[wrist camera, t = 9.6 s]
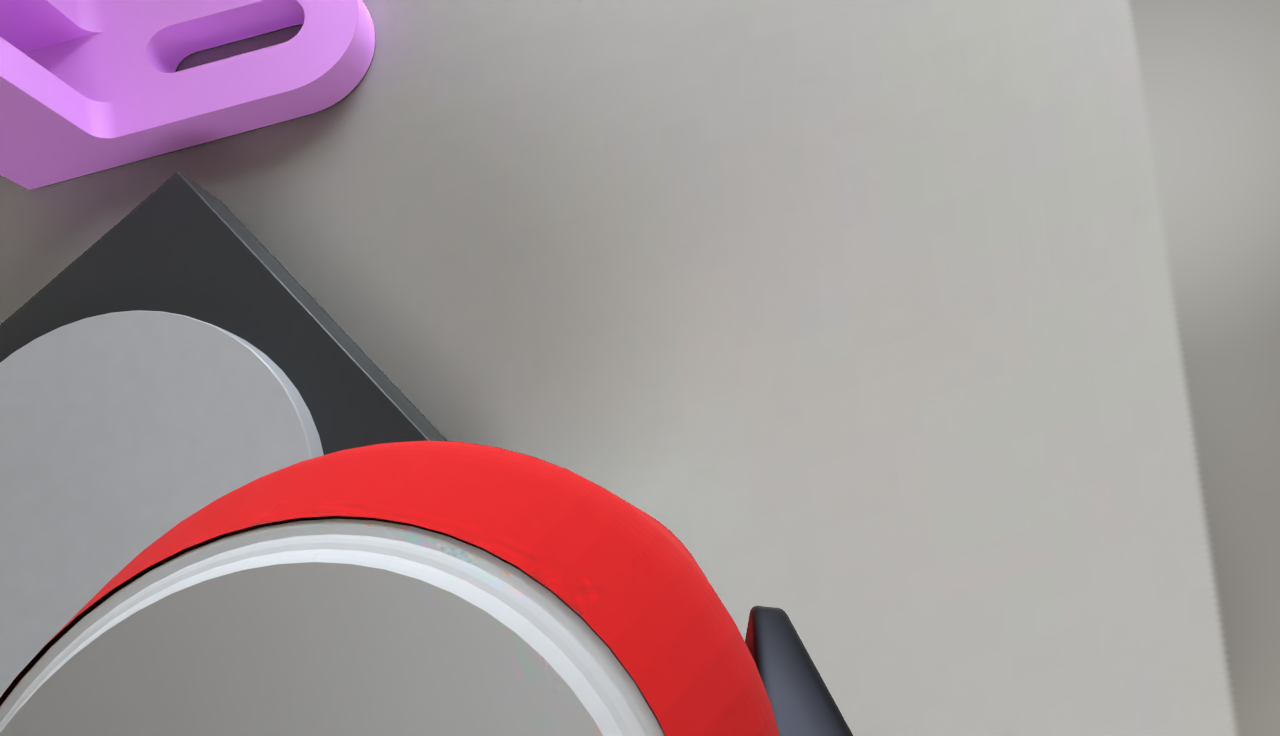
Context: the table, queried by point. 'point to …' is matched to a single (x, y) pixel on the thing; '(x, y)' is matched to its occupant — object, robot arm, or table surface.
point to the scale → (161, 401)
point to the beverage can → (402, 614)
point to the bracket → (161, 76)
